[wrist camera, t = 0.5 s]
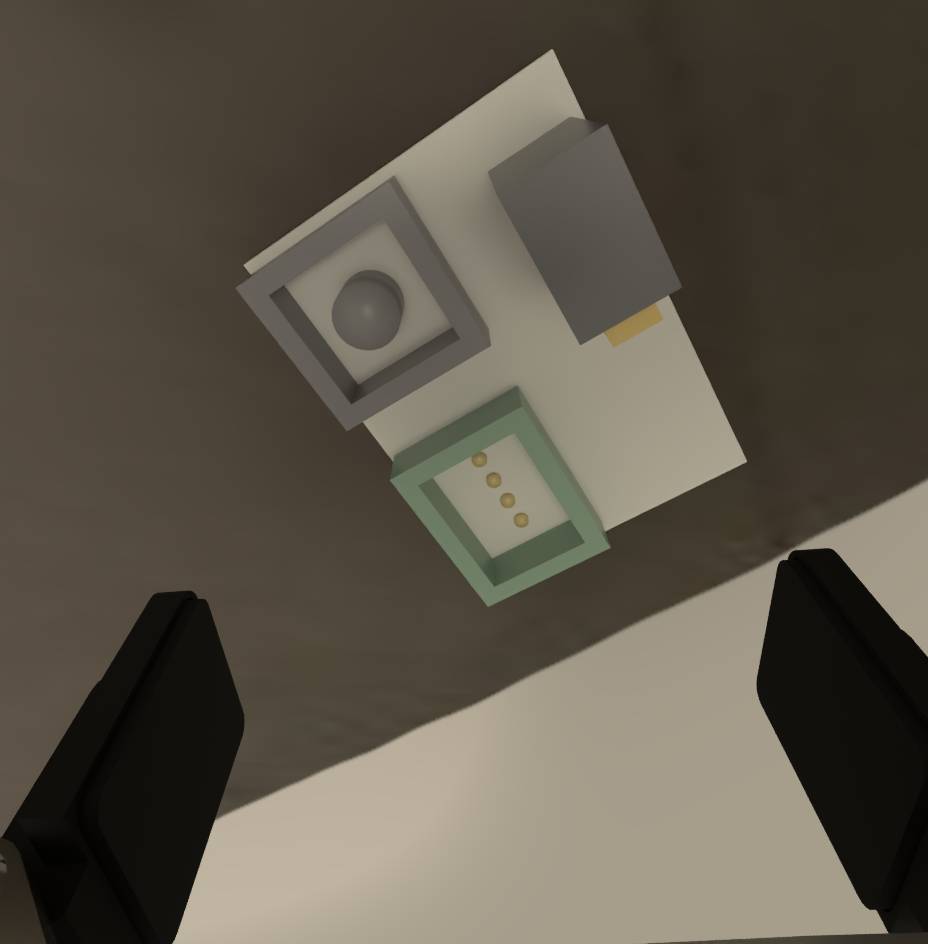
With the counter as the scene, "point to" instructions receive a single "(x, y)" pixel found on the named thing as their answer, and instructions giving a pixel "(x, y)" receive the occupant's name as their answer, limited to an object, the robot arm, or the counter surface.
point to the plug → (587, 230)
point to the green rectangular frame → (452, 532)
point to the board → (483, 330)
